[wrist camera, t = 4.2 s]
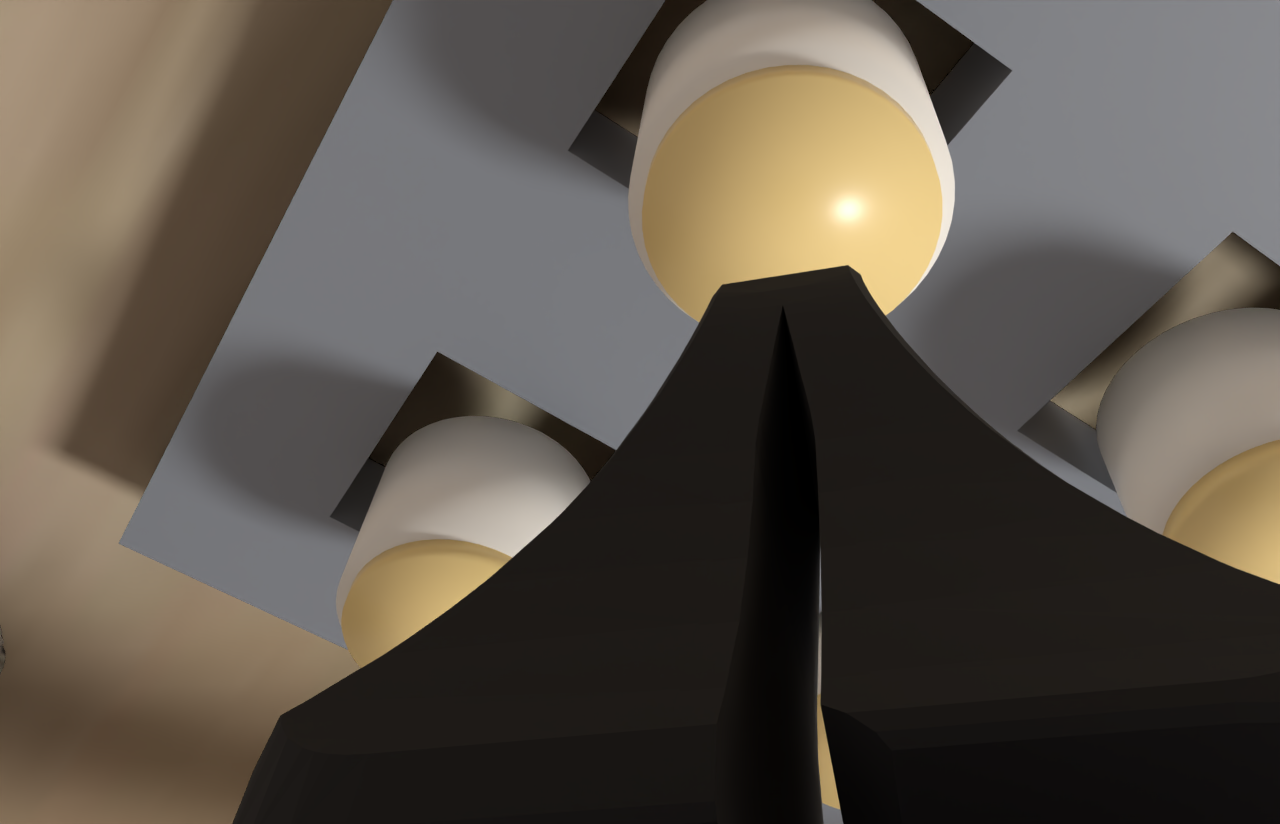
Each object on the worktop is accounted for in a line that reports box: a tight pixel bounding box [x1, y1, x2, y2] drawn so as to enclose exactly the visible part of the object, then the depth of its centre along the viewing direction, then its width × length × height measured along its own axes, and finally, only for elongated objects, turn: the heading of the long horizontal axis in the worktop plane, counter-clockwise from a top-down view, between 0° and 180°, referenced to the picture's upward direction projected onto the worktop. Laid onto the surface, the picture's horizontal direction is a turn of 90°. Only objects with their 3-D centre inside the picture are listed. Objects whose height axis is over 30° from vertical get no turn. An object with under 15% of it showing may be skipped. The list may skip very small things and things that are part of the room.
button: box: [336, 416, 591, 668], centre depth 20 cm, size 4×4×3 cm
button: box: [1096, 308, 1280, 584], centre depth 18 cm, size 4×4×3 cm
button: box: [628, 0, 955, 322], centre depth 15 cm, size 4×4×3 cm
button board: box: [119, 0, 1280, 824], centre depth 21 cm, size 20×20×2 cm
